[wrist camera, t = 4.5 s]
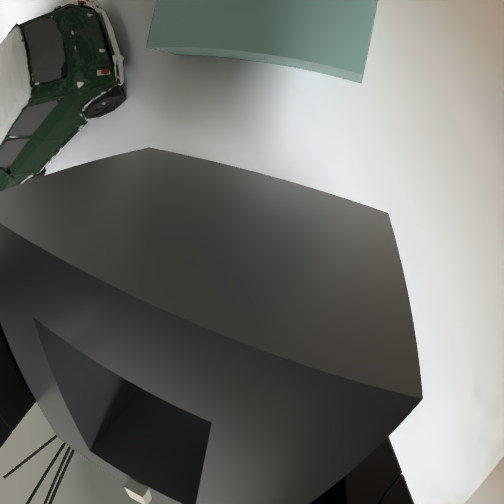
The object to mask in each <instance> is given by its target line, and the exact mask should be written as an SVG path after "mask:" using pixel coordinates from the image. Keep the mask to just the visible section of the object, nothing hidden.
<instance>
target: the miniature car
mask: <svg viewBox="0 0 504 504" xmlns="http://www.w3.org/2000/svg"><path fill="white" fill-rule="evenodd" d="M86 1H89V2H90V3H91V4H92V6H93V7H94V9H93V8H91V7H89V6H87V5H86V2H84V1H78V3H77V2H75V3H74V4H67V5H65V6H63V7H61V6H58V7H56V8H55V9H54V11H52V12H50V13H47V14H45V15H42V16H39V17H37V18H34V19H32V20H29V21H27V22H24V23H22V24H20V25H18V24H17V23H16V25H15V26H14V27H13V28H12V30H11V31H10V32H9V34H8V35H7V37H6V38H5V39H4V40H3V42H2V43H1V44H0V191H3V190H5V189H8V188H11V187H13V186H16V185H19V184H22V183H25V182H27V181H30V180H33V179H36V178H39V177H42V176H44V174H45V172H44V170H43V169H44V167H45V166H46V165H47V164H48V163H49V162H50V161H51V160H52V158H53V157H54V156H55V155H56V154H57V153H58V152H59V151H60V150H61V149H62V148H63V147H64V145H65V144H66V143H67V142H68V141H69V140H70V139H71V138H72V137H73V136H74V135H75V134H76V133H77V132H78V131H79V130H80V129H81V128H82V127H83V126H84V125H85V124H86V123H87V121H86V120H85V119H84V118H83V111H84V114H85V117H86V119H87V118H95V117H101V116H103V115H105V114H107V113H109V112H112V111H114V110H115V109H116V108H118V107H119V106H120V105H121V104H122V103H123V102H124V101H125V100H126V98H125V95H124V93H123V91H122V89H121V85H123V82H124V74H123V63H122V61H124V56H122V55H121V54H120V51H119V48H118V44H117V41H116V38H115V34H114V31H113V28H112V26H111V24H110V21H109V19H108V17H107V15H106V11H104V10H102V9H101V7H100V6H99V4H98V2H97V1H96V0H86ZM99 14H101V15H102V17H103V20H104V22H105V25H106V29H107V32H108V35H109V38H110V41H111V44H112V47H113V50H114V53H115V55H114V53H113V50H112V47H111V44H110V41H109V38H108V35H107V32H106V29H105V26H104V24H103V22H102V20H101V18H100V15H99ZM117 63H118V64H117ZM119 77H120V84H119V83H118V81H119Z"/></svg>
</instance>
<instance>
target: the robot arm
mask: <svg viewBox="0 0 504 504" xmlns="http://www.w3.org/2000/svg"><path fill="white" fill-rule="evenodd" d="M35 402H36V400H35V398H34V396H33V394H32V392H31V390H30V388H29V386H28V384H27V382H26V380H25V378H24V376H23V374H22V372H21V370H20V368H19V366H18V364H17V362H16V359H15V357H14V355H13V353H12V350H11V348H10V346H9V343H8V341H7V338H6V336H5V333H4V331H3V328H2V325H1V323H0V448H1V446H2V445H3V444H4V442H5V441H6V440H7V438H8V437H9V436H10V434H11V433H12V431H13V430H14V429H15V428H16V426H17V425H18V424H19V422H20V421H21V420H22V419H23V417H24V416H25V415H26V413H27V412H28V411H29V410H30V408H31V407H32V406H33V405H34V403H35ZM401 473H402V471H401V468H400V465H399V463H398V460H397V457H396V455H395V452H394V450H393V447H392V444H391V442H390V439H389V437H387V438H386V439H385V440H384V441H383V442H382V443H381V444H380V445H379V446H378V447H377V448H376V449H375V450H374V451H373V452H372V453H370V454H369V455H368V456H367V457H366V458H365V459H364V460H363V461H362V462H361V463H360V464H358V465H357V466H356V467H355V468H354V469H353V470H352V471H350V472H349V473H348V474H347V475H346V476H344V477H343V478H342V479H341V480H340V481H338V482H337V483H336V484H335V485H333V486H332V487H331V488H330V489H328V490H327V491H326V492H324V493H323V494H322V495H320V496H319V497H318V498H316V499H315V500H314V501H312V502H311V503H310V504H414V502H413V499H412V497H411V494H410V492H409V489H408V487H407V484H406V481H405V478H404V476H403V474H401ZM400 474H401V475H400Z"/></svg>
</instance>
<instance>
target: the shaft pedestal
mask: <svg viewBox="0 0 504 504" xmlns="http://www.w3.org/2000/svg"><path fill="white" fill-rule="evenodd" d="M377 1H378V0H157V2H156V6H155V10H154V14H153V18H152V23H151V27H150V32H149V36H148V41H147V46H146V48H151V49H155V50H160V51H164V52H168V53H172V54H179V55H201V56H215V57H226V58H236V59H244V60H252V61H260V62H266V63H273V64H279V65H285V66H290V67H295V68H301V69H305V70H310V71H315V72H319V73H324V74H328V75H332V76H336V77H340V78H344V79H348V80H351V81H355V82H358V83H362V78H363V74H364V69H365V64H366V59H367V55H368V50H369V45H370V40H371V34H372V29H373V24H374V18H375V13H376V7H377Z"/></svg>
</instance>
